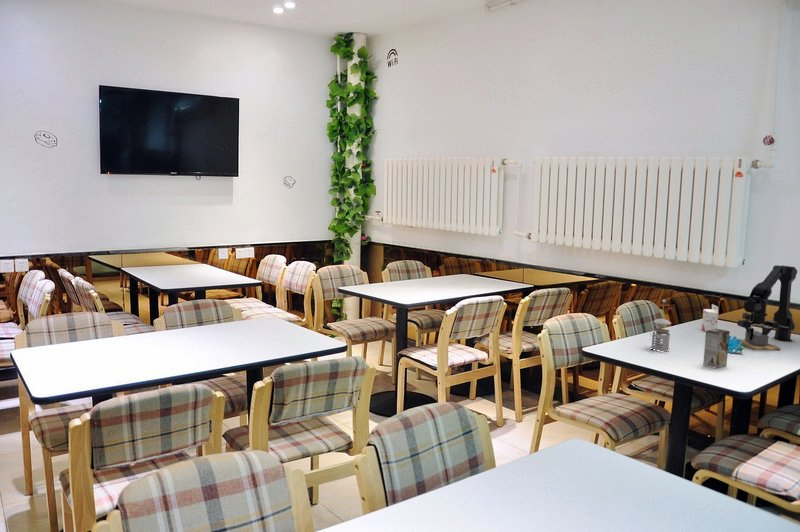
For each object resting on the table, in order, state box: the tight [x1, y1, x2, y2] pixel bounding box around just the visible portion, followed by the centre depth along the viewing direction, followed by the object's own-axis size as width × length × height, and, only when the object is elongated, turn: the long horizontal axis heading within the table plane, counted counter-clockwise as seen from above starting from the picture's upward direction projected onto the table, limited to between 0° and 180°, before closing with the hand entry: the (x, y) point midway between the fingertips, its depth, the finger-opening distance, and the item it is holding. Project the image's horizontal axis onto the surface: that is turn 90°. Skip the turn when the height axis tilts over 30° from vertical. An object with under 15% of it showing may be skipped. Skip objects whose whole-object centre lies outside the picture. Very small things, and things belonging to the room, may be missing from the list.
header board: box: [734, 338, 781, 352], centre depth 334 cm, size 14×18×4 cm
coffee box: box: [702, 328, 730, 369], centre depth 294 cm, size 9×6×16 cm
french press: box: [649, 299, 672, 351], centre depth 320 cm, size 10×12×25 cm
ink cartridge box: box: [701, 303, 719, 332], centre depth 362 cm, size 9×5×15 cm, turn 179°
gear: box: [728, 335, 745, 354], centre depth 320 cm, size 11×6×10 cm
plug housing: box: [744, 330, 770, 346], centre depth 333 cm, size 6×10×5 cm, turn 2°
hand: (756, 340), depth 334 cm, fingers closed on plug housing, 6 cm apart
